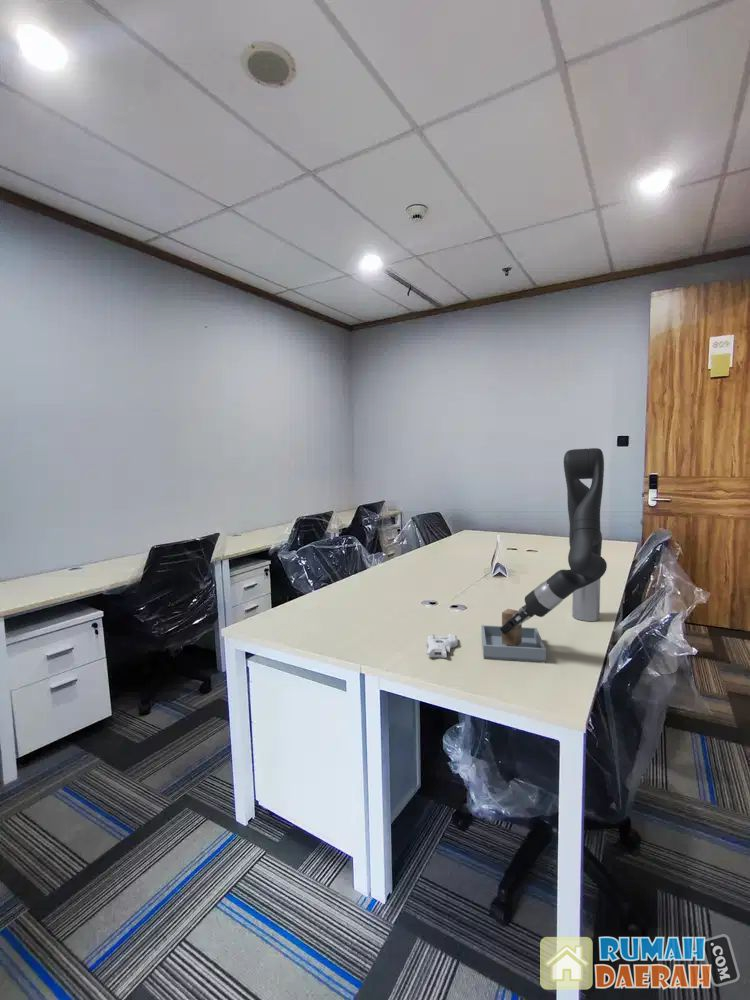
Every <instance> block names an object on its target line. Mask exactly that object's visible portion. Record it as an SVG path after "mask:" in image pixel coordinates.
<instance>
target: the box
mask: <svg viewBox="0 0 750 1000" xmlns="http://www.w3.org/2000/svg"><path fill="white" fill-rule="evenodd" d="M501 627H502V625H486V624H482V625H481V645H482V655H483V660H495V661H496V660H498V661H499V660H500V661H510V662H512V661H514V662H526V661H529V662H530V663H541V662H546V663H547V661H546V660H547V648H546V646H545V644H544V641H543V640H542V637H541V635H540V632H539V630H538V627H525V626H524V627H523V626H522V643H520V644H519V645H518V646H517V647H514V646H509V645H505V644H502V631H501V630H500V628H501ZM529 662H528V663H529Z"/></svg>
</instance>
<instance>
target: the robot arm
mask: <svg viewBox="0 0 750 1000" xmlns="http://www.w3.org/2000/svg"><path fill="white" fill-rule="evenodd" d="M563 469H564V479H565V484H566V489H567V494H566V495H567V512H568V522H569V533H568V534H569V539H568V540H569V541H568V543H569V552H568V555H567V561H568V566H569V568H570V569H560V570H557V571H556V572H555V573H554V574H552V575H551V576H550V577H548V578H547V579H546V580H544V581H543V582H541V583H540V584H538V586H536V587H535V588H534V589H533V590H531V591H530V592H528V594H526V595H525V597H524V603H525V604H524V605H523V606H521V607H520V608H519V609H518V610H517V611H518V612H516V613H515V614H514V615H513V616H512V618H511V619H510V620H508V621H507V622H506V624H505V625H504V626H502V625H501V626H502V627H501V628H500V630H501V631H502V632H503V634H506V633H507V632H508V631H510V630H511V629H513V628H515V626H517V625H521V624H524V623H525V622H526V621H528V620H530V619H531V618H533V617H534V616H537V617H539V618H543V617H545V616H546V615H547V614H549V613H550V612H551V611H553V609H555V608H556V607H557V606H559V605H560V604H561V603H562V602H563V601H564V600H565V599H567V598H568V597H569V596H570V595H572V612H571V613H572V616H571V617H573V618H574V619H576V620H579V621H584V622H596V621H599V620H600V616H601V615H600V613H601V612H600V609H601V608H600V607H601V605H600V604H601V578H602V577H603V576H604V575H605V573H606V571H607V567H608V563H607V562H606V560H605V558H604V557H603V556H602V543H603V535H602V531H601V505H602V498H603V488H604V472H605V459H604V453H603V451H602V449H600V448H597V447H595V448H594V447H592V448H591V447H589V448H576V449H575V448H574V449H570V450H567V451H566V452H565V454H564V457H563ZM589 479H590V480H591V483H590V487H588V486H587V484H585V483H583V482H582V481H581V480H589Z"/></svg>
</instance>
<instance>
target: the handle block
mask: <svg viewBox="0 0 750 1000" xmlns="http://www.w3.org/2000/svg"><path fill="white" fill-rule="evenodd" d="M518 611H519V610H517V609H511V608H507V609H506V610H503V611H502V612H501V626H504V625H505V624H506V622H507V621H508V620H510V619H511V618H512V616H513V615H514V614H515V613H516V612H518ZM522 624H523V623H522ZM522 624H521V625H517V626H515V628H513V629H511V630H510V631H508V632H507V633H506V634H503V632H502V644H505V645H509V646H514V647H517V646H518V645H519V644H520V643H522V627H523V626H522Z"/></svg>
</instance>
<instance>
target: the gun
mask: <svg viewBox="0 0 750 1000" xmlns="http://www.w3.org/2000/svg"><path fill="white" fill-rule="evenodd" d="M458 644H459V643H458V636H457V635H456V634H453V633H448V635H440V636H439V635H437V636H435V634H430V635H427V641H426V642H425V646H426V647H428V648H427V651H426V655H427V656H429V658H435V659H436V658H437V659H438V658H441V659H446V658H447V652H448V653H450V652H451V651H450V650H451V649H453V648H456V647H457V646H459V645H458Z"/></svg>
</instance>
